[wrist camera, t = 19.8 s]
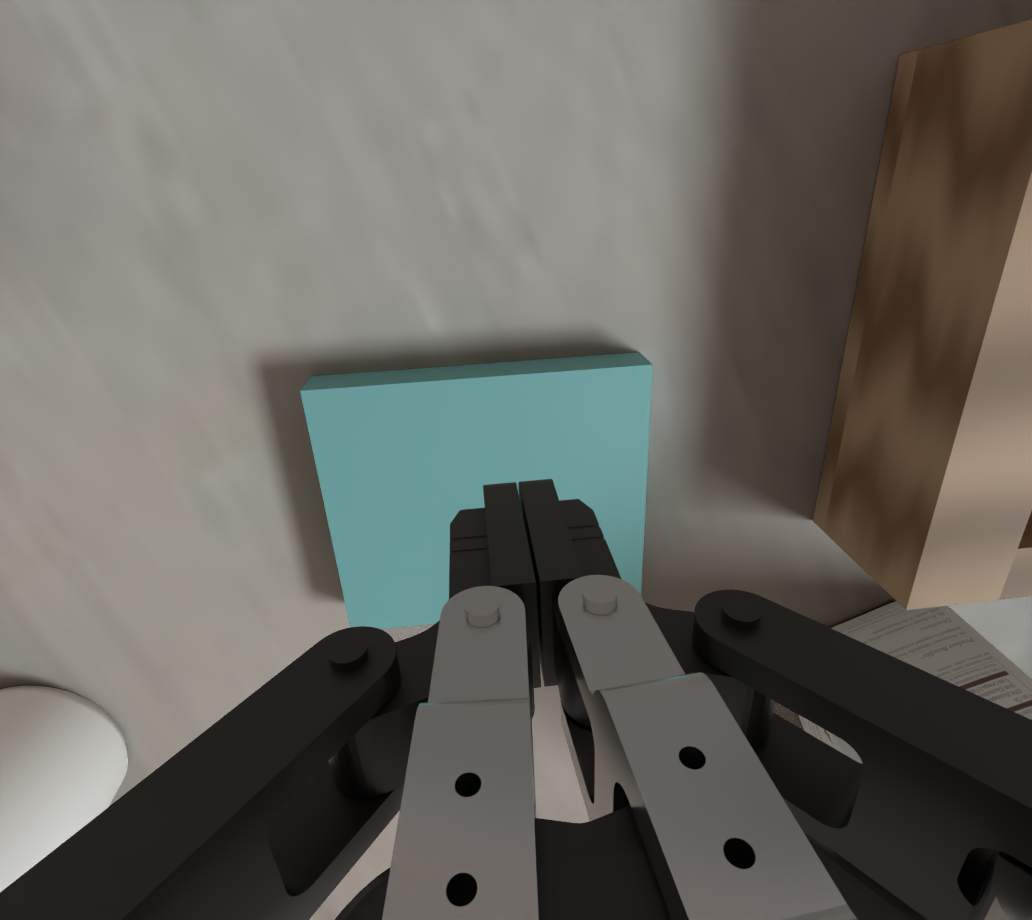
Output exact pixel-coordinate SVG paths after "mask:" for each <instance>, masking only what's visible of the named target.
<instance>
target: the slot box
mask: <svg viewBox="0 0 1032 920" xmlns="http://www.w3.org/2000/svg"><path fill="white" fill-rule="evenodd" d="M813 522H814V523H815V524H816V525H818V526H819V527H820V528H821V529H822V530H823V531H824V532H825V533H826V534H827V535H828V536H829V537H830V538H831V539H832V540H833V541H834V542H835V543H836V544H837V545H838V546H840V547H841V548H842V549H843V550H844V551H845V552H846V553H847V554H848V555H849V556H850V557H851V558H852V559H853V560H854V561H855V562H856V563H857V564H858V565H859V566H860V567H861V568H863V569H864V570H865V571H866V572H867V573H868V574H869V575H870V576H871V577H872V578H873V579H874V580H875V581H876V582H877V583H878V584H879V585H880V586H881V587H882V588H883V589H885V590H886V591H887V592H888V593H889V594H890V595H891V596H892V597H893V598H894V599H895V600H896V601H897V602H898V603H899V604H900V605H901V606H902V607H903V608H904V609H905V610H912V609H921V608H930V607H939V606H948V605H957V604H966V603H975V602H984V601H992V600H1001V599H1010V598H1019V597H1028V596H1032V19H1030V20H1026V21H1023V22H1019V23H1015V24H1012V25H1008V26H1004V27H1001V28H997V29H993V30H990V31H986V32H982V33H979V34H975V35H971V36H968V37H964V38H960V39H957V40H953V41H949V42H946V43H942V44H938V45H935V46H931V47H927V48H924V49H920V50H916V51H913V52H909V53H905V54H902V55H899V61H898V66H897V72H896V77H895V82H894V88H893V93H892V98H891V104H890V109H889V115H888V120H887V125H886V131H885V136H884V141H883V147H882V152H881V158H880V163H879V168H878V174H877V179H876V184H875V190H874V195H873V201H872V206H871V211H870V217H869V222H868V227H867V233H866V238H865V243H864V249H863V254H862V260H861V265H860V270H859V276H858V281H857V286H856V292H855V297H854V303H853V308H852V313H851V319H850V324H849V329H848V335H847V340H846V346H845V351H844V356H843V362H842V367H841V372H840V378H839V383H838V389H837V394H836V399H835V405H834V410H833V415H832V421H831V426H830V432H829V437H828V442H827V448H826V453H825V458H824V464H823V469H822V474H821V480H820V485H819V491H818V496H817V501H816V507H815V512H814V517H813Z"/></svg>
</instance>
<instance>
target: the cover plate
mask: <svg viewBox="0 0 1032 920" xmlns="http://www.w3.org/2000/svg"><path fill="white" fill-rule="evenodd" d="M652 367H653V365H652V364H651V363H650V362H649V361H648V360H647V359H646V358H645V357H644V356H643V355H642V354H641V353H639V352H634V353H620V354H607V355H593V356H580V357H566V358H553V359H539V360H526V361H512V362H498V363H485V364H471V365H458V366H444V367H431V368H417V369H404V370H390V371H377V372H363V373H349V374H336V375H322V376H311V377H310V378H309V380H308V381H307V382H306V384H305V385H304V386H303V388H302V389H301V390H300V393H301V398H302V403H303V407H304V412H305V417H306V421H307V426H308V431H309V436H310V440H311V445H312V450H313V454H314V459H315V464H316V469H317V473H318V478H319V483H320V487H321V492H322V497H323V502H324V506H325V511H326V516H327V520H328V525H329V530H330V535H331V539H332V544H333V549H334V553H335V558H336V563H337V567H338V572H339V577H340V582H341V586H342V591H343V596H344V600H345V605H346V610H347V615H348V619H349V624H350V628H351V627H359V626H367V627H374V628H378V629H385V628H395V627H405V626H415V625H425V624H435V623H437V622H438V621H439V620H440V615H441V611H442V609H443V607H444V605H445V604H446V603H447V601H448V600H449V560H450V523H451V522H452V520H453V519H454V518H455V516H456V515H457V513H458V512H459V511H460V510H464V509H475V508H485V504H484V493H483V485H488V484H500V483H511V482H516V484H517V489H518V483H519V482H521V481H532V480H543V479H552V480H553V483H554V486H555V489H556V492H557V495H558V498H559V501H560V500H571V499H580V500H581V501H582V502H583V503H585V504H586V505H587V506H589V507H590V508H591V509H592V510H593V511H594V513H595V516H596V518H597V520H598V523H599V527H600V528H601V530H602V533H603V535H604V539H605V540H606V542H607V545H608V547H609V550H610V552H611V554H612V557H613V559H614V562H615V564H616V567H617V569H618V572H619V574H620V576H621V579H622V580H624V581H626V582H628V583H629V584H631V585H632V586H633V587H635V588H636V589H637V591H638V592H639V593H640V595H641V587H642V567H643V547H644V527H645V507H646V487H647V467H648V447H649V427H650V407H651V387H652ZM518 494H519V491H518Z"/></svg>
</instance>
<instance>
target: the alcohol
mask: <svg viewBox="0 0 1032 920" xmlns="http://www.w3.org/2000/svg"><path fill="white" fill-rule="evenodd" d="M127 766H128V758H127V751H126V745H125V739H124V735H123V733H122V731H121V729H120V727H119V725H118V724H117V723H116V721H115V720H114V719H113V718H112V716H110V715H109V714H108V713H107V712H106V711H105V710H104V709H102V708H101V707H100V706H98V705H96V704H95V703H93V702H92V701H90V700H88V699H86V698H84V697H81V696H79V695H77V694H74V693H71V692H68V691H64V690H61V689H57V688H51V687H45V686H26V685H25V686H15V687H8V688H4V689H1V690H0V892H1V891H3V890H4V889H5V888H6V887H8V886H9V885H10V884H12V883H13V882H14V881H15V880H17V879H18V878H19V877H20V876H22V875H23V874H24V873H26V872H27V871H28V870H29V869H31V868H32V867H33V866H34V865H36V864H37V863H38V862H40V861H41V860H42V859H43V858H45V857H46V856H47V855H48V854H50V853H51V852H52V851H54V850H55V849H56V848H57V847H59V846H60V845H61V844H62V843H64V842H65V841H66V840H67V839H69V838H70V837H71V836H73V835H74V834H75V833H76V832H78V831H79V830H80V829H81V828H83V827H84V826H85V825H87V824H88V823H89V822H90V821H92V820H93V819H94V818H95V817H97V816H98V815H99V814H101V813H102V812H103V811H104V810H106V809H107V808H108V807H109V805H110V803H111V801H112V799H113V798H114V796H115V794H116V792H117V790H118V788H119V787H120V785H121V783H122V781H123V779H124V777H125V775H126V772H127Z"/></svg>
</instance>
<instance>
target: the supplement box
mask: <svg viewBox="0 0 1032 920" xmlns="http://www.w3.org/2000/svg"><path fill="white" fill-rule="evenodd" d="M831 629H833V630H836V631H838V632H840V633H842V634H844V635H847V636H849V637H851V638H853V639H855V640H858V641H860V642H862V643H864V644H866V645H869V646H871V647H873V648H875V649H877V650H879V651H882V652H884V653H886V654H888V655H890V656H893V657H895V658H897V659H899V660H901V661H904V662H906V663H908V664H910V665H912V666H915V667H917V668H919V669H921V670H923V671H926V672H928V673H930V674H932V675H934V676H936V677H939V678H941V679H943V680H945V681H947V682H950V683H952V684H954V685H956V686H958V687H961V688H963V689H965V690H967V691H969V692H972V693H974V694H976V695H978V696H980V697H983V698H985V699H987V700H989V701H991V702H993V703H996V704H998V705H1000V706H1002V707H1004V708H1007V709H1009V710H1011V711H1013V712H1015V713H1018V714H1020V715H1022V716H1024V717H1026V718H1029V719H1031V720H1032V679H1031V678H1030V677H1029V676H1027V675H1026V674H1025V673H1024V672H1023V671H1022V670H1020V669H1019V668H1018V667H1017V666H1016V665H1015V664H1014V663H1013V662H1012V661H1010V660H1009V659H1008V658H1007V657H1006V656H1005V655H1003V654H1002V653H1001V652H1000V651H999V650H997V649H996V648H995V647H994V646H993V645H992V644H991V643H990V642H988V641H987V640H986V639H985V638H984V637H983V636H981V635H980V634H979V633H978V632H977V631H976V630H975V629H974V628H972V627H971V626H970V625H969V624H968V623H966V622H965V621H964V620H963V619H962V618H961V617H960V616H959V615H958V614H956V613H955V612H954V611H953V610H952V609H951V608H949V607H948V606H939V607H930V608H921V609H912V610H905V609H904V608H903V607H902V606H901V605H900V604H899V603H898V602H897V601H895V602H892V603H890V604H887V605H885V606H883V607H880V608H878V609H875V610H873V611H871V612H868V613H866V614H863V615H861V616H858V617H856V618H854V619H851V620H849V621H846V622H844V623H842V624H839V625H837V626H834V627H832V628H831ZM799 718H800V720H801V723H802V726H803V729H804V731H805V732H807V733H809V734H810V735H812V736H814V737H816V738H817V739H819V740H821V741H822V742H824V743H826V744H828V745H829V746H831V747H833V748H834V749H836V750H838V751H840V752H841V753H843V754H845V755H846V756H848V757H850V758H852V759H853V760H855V761H857V762H859V763H861V764H863V763H862V761H861V759H860V757H859V755H858V754H857V753H856V751H855V750H854V749H853V748H852V747H851V746H850V745H849V744H848V743H846V742H845V741H844V740H842V739H840V738H839V737H837V736H835V735H834V734H832V733H830V732H828V731H827V730H825V729H823V728H821V727H820V726H818V725H816V724H814V723H812V722H811V721H809V720H807V719H805V718H804V717H802V716H800V715H799Z"/></svg>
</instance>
